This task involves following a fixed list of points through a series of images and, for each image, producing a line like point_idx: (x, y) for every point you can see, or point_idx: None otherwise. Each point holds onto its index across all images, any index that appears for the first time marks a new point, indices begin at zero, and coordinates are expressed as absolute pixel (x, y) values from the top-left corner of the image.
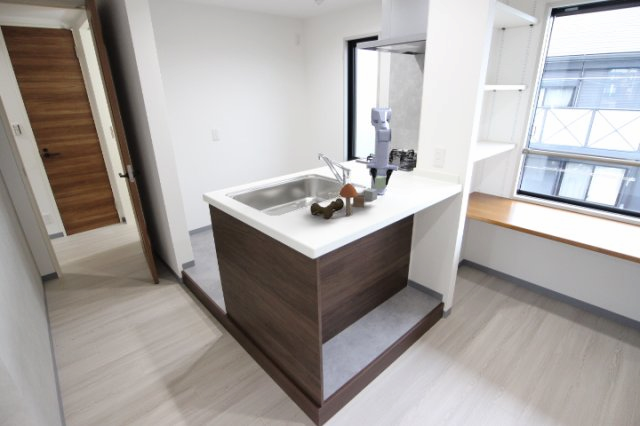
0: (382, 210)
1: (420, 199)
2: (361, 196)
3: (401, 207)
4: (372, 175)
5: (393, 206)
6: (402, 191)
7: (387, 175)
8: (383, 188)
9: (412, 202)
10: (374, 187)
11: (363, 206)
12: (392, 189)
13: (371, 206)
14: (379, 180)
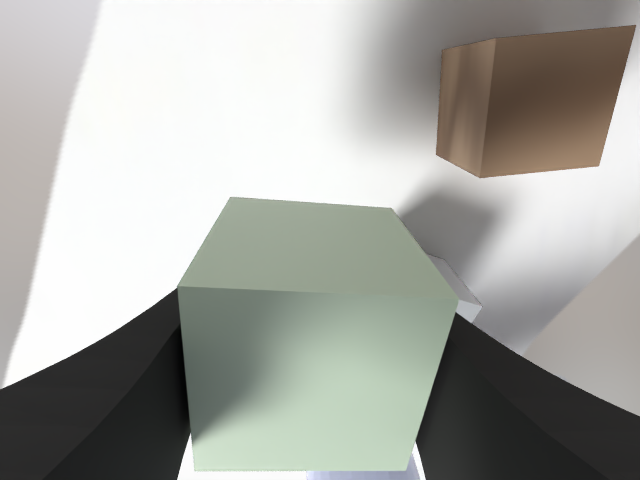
0: (246, 7)
1: (23, 367)
2: (523, 85)
3: (95, 152)
4: (553, 378)
5: (171, 159)
6: (193, 463)
7: (79, 394)
8: (250, 201)
9: (53, 294)
10: (394, 214)
11: (445, 51)
12: (263, 476)
13: (367, 102)
14: (334, 269)
